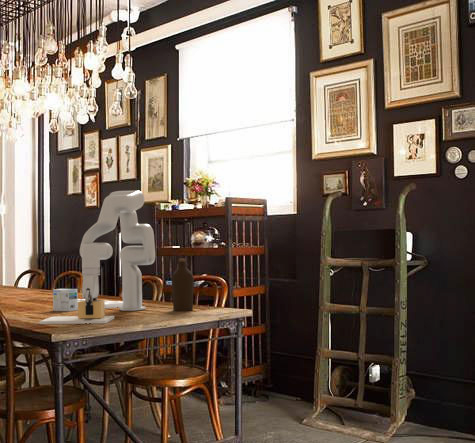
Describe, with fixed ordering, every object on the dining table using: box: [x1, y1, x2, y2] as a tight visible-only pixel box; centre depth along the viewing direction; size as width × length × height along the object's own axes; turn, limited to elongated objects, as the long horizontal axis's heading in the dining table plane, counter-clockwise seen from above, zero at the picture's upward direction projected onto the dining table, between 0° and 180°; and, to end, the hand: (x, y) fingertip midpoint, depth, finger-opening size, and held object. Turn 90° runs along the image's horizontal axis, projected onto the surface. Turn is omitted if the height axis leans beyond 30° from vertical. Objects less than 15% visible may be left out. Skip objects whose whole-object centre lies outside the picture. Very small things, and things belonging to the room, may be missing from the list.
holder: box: [78, 298, 123, 310], centre depth 345 cm, size 45×18×3 cm, turn 39°
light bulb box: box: [52, 288, 79, 312], centre depth 320 cm, size 11×7×11 cm, turn 65°
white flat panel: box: [39, 315, 115, 325], centre depth 277 cm, size 16×28×1 cm, turn 88°
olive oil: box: [171, 258, 195, 312], centre depth 312 cm, size 11×11×25 cm
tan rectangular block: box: [77, 299, 106, 318], centre depth 276 cm, size 6×10×7 cm, turn 88°
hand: (91, 313), depth 276 cm, fingers closed on tan rectangular block, 6 cm apart
